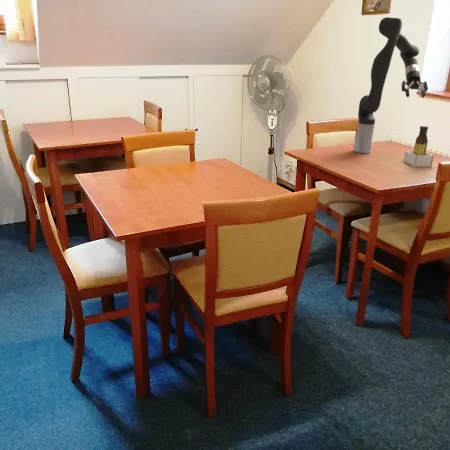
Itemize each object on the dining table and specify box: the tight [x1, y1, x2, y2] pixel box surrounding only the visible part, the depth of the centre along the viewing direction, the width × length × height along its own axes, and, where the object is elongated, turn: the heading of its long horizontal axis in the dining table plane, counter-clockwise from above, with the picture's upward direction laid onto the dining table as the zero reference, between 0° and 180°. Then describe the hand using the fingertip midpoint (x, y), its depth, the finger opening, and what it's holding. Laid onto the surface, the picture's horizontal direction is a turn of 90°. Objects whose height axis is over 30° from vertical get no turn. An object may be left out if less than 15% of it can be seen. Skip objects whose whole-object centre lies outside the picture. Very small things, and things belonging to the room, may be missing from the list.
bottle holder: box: [403, 150, 435, 167], centre depth 256 cm, size 10×11×6 cm
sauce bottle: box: [413, 125, 429, 155], centre depth 253 cm, size 7×6×20 cm
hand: (415, 96), depth 265 cm, fingers open, 8 cm apart
